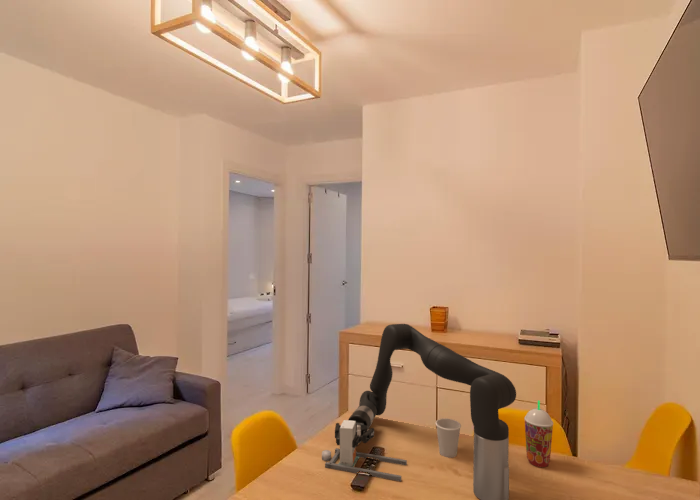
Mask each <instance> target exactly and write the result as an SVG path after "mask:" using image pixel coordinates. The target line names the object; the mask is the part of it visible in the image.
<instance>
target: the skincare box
mask: <svg viewBox="0 0 700 500" xmlns="http://www.w3.org/2000/svg"><path fill="white" fill-rule="evenodd" d="M340 425H341V427H340V445H339V449H340V456H339V462H340V465H346V466H353V463H354V460H355V458H356V452H357V447H355V448H352V441H353V439H354V438H355V436H356V421H350V420H348V419H343V421H342V423H340Z"/></svg>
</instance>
